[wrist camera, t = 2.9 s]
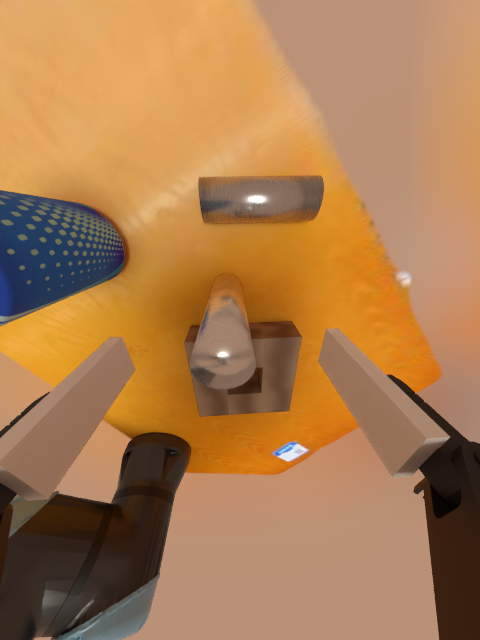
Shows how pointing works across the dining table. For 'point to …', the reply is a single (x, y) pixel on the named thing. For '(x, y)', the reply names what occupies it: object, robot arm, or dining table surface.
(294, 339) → the socket block
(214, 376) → the peg
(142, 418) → the dining table surface
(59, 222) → the beer can
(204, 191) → the lying peg
